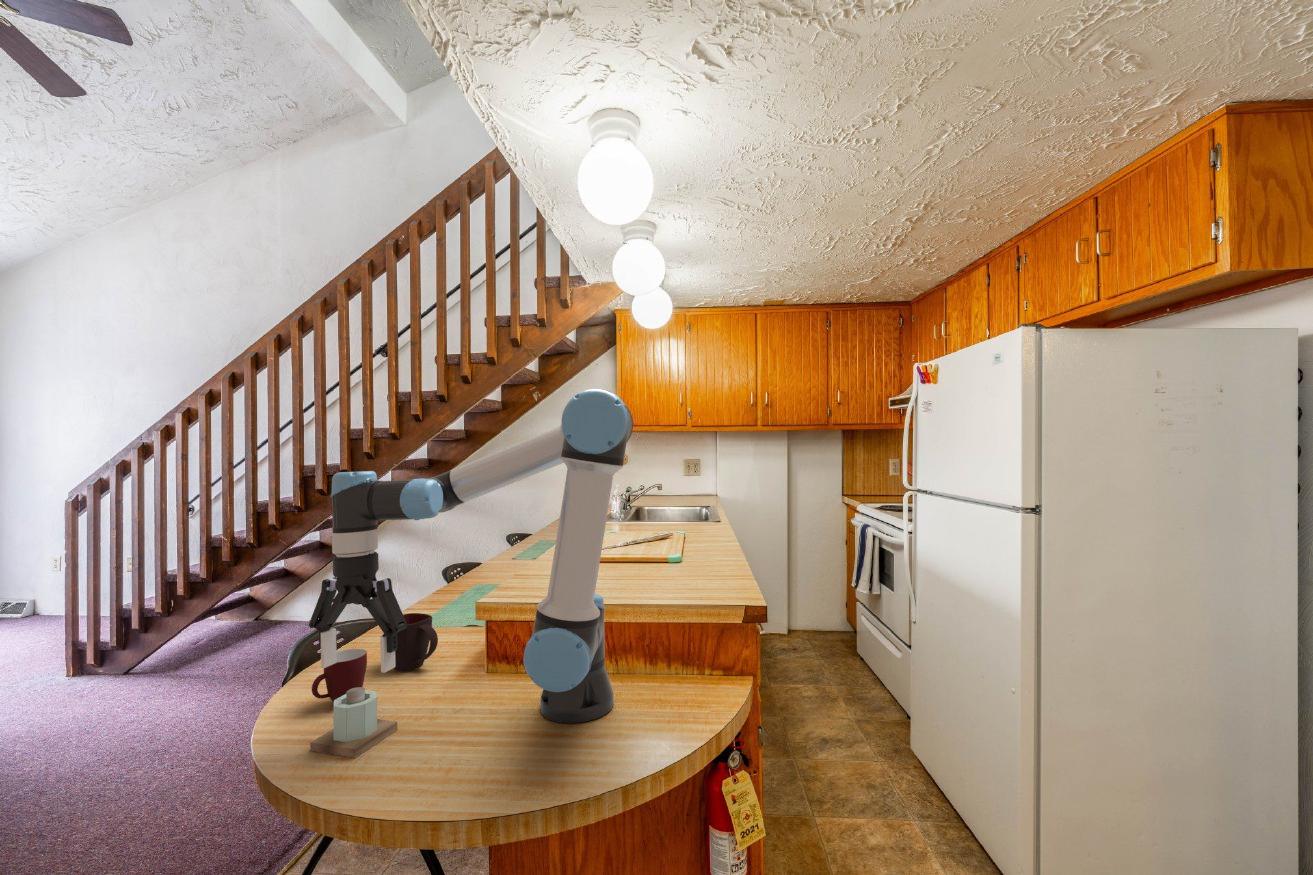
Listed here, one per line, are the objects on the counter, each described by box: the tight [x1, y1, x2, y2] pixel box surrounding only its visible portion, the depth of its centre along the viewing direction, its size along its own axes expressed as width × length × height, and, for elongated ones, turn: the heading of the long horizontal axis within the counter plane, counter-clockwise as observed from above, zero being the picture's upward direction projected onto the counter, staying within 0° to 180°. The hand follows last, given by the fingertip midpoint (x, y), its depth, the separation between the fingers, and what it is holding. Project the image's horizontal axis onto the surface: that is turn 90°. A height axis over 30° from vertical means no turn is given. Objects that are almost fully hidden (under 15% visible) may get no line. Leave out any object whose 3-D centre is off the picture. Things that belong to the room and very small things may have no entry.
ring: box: [332, 689, 378, 742], centre depth 99 cm, size 7×7×6 cm
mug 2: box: [389, 612, 439, 673], centre depth 133 cm, size 10×14×12 cm
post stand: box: [309, 687, 398, 759], centre depth 99 cm, size 10×10×9 cm
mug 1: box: [311, 648, 368, 704], centre depth 114 cm, size 10×8×10 cm
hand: (358, 667), depth 100 cm, fingers open, 13 cm apart
